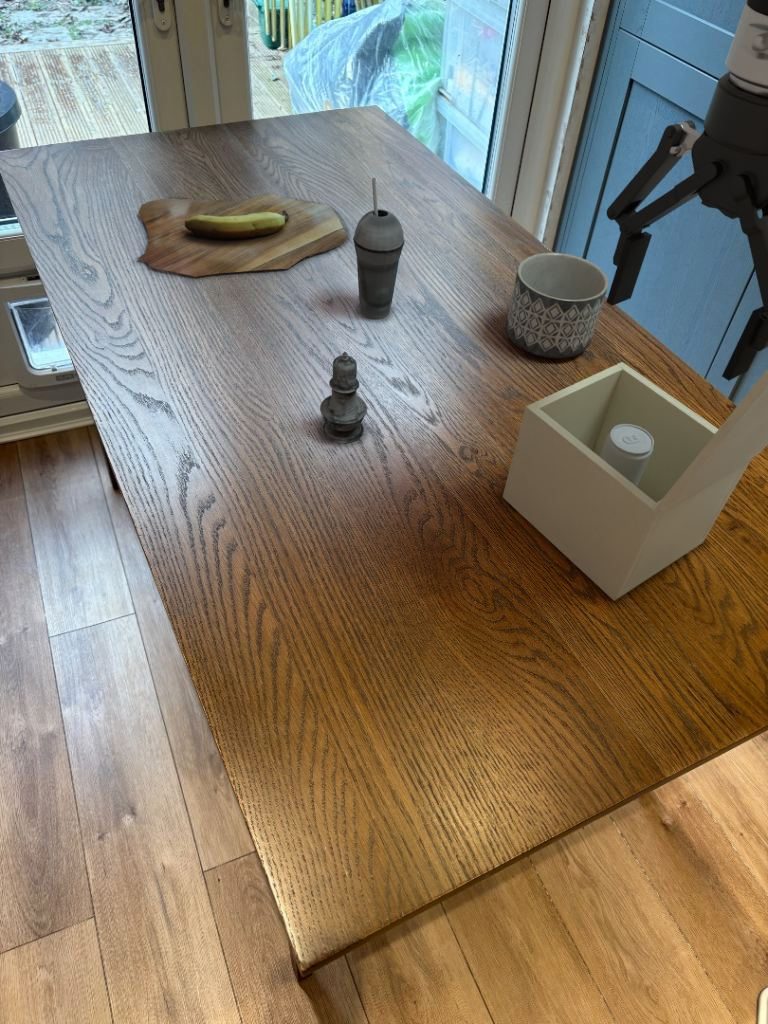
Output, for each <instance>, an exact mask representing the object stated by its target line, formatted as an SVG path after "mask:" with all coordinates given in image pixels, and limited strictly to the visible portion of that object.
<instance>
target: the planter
mask: <svg viewBox="0 0 768 1024" xmlns="http://www.w3.org/2000/svg"><path fill="white" fill-rule="evenodd" d="M516 271H517V272H516V275H515V280H514V284H513V290H512V294H511V299H510V304H509V308H508V312H507V317H506V323H505V331H506V334H507V336H508V338H509V339H510V340H511V342H512V343H513V344H514V345H516V346H517V347H519V348H520V349H522V350H523V351H525V352H527V353H529V354H532V355H535V356H539V357H542V358H548V359H567V358H572V357H576V356H578V355H580V354H581V353H583V352H585V351H586V350H587V349H588V348H589V346H590V345H591V343H592V339H593V337H594V333H595V329H596V327H597V323H598V321H599V317H600V314H601V310H602V307H603V305H604V302H605V298H606V295H607V291H608V289H609V285H610V283H609V278H608V276H607V274H606V273H605V272H604V271H603V269H601V268H600V266H598V265H597V264H595V263H593V262H591V261H590V260H587V259H585V258H583V257H579V256H577V255H573V254H569V253H563V252H541V253H536V254H532V255H530V256H528V257H525V258H524V259H523V260H522V261H521V262H520V263H519V264H518V266H517V270H516Z"/></svg>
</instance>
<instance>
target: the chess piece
mask: <svg viewBox="0 0 768 1024" xmlns="http://www.w3.org/2000/svg"><path fill="white" fill-rule="evenodd" d="M357 372H358V363H357V360H356V359H355V358H354V357H353V356H350V355H349V353H348V352H346V351H344V352H342V354H341V355H338V356H336V357H335V358H334V359H333V361H332V377H331V378H330V379H329V382H328V385H329V387H330V389H331V394H330V395H328V396H327V397H325V398H323V400H322V401H321V403H320V405H319V411H320V414H321V416H322V417H323V418H322V419H323V420H324V423H323V425H322V434H323V435H324V437H325V438H326V439H327V440H329V441H330V442H333V443H336V444H344V445H346V444H352V443H355V442H357V441H358V440H360V439H361V438H362V436H363V435H364V432H365V428H364V425H363V423H362V422H363V421H364V418H365V417H366V416H367V413H368V405H367V403H366V401H364V399H363V398H361V397H359V396H358V395H357V390H358V389H359V387H360V381H359V379H358V378H357V375H358V373H357Z"/></svg>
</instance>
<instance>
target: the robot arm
mask: <svg viewBox="0 0 768 1024" xmlns="http://www.w3.org/2000/svg"><path fill="white" fill-rule="evenodd" d="M724 65H725V68H726V70H727V71H728V72H726V73H724V75H722V76H721V77H719V79H718V80H717V83H716V86H715V89H714V92H713V94H712V97H711V101H710V104H709V106H708V109H707V111H706V115H705V118H704V120H703V129H704V130H703V131H702V133H701V132H699V131H697V130H696V129H697V127H696V123H695V121H693V120H691V119H689V120H684V121H681V122H677V123H673V124H670V125H668V126H666V127H665V128H664V129H663V133H662V136H661V137H660V140H659V142H658V145H657V147H656V150H655V151H654V153H653V154H652V155H651V156H650V157H649V158H648V160H647V161H646V162H645V163H644V164H643V165H642V167H641V168H639V170H638V172H637V173H636V174H635V175H634V176H633V177H632V179H631V180H629V183H628V184H626V186H625V187H624V188H623V190H622V191H621V192H620V193H619V194H618V196H617V197H616V198H615V199H614V200H613V201H612V203H611V204H610V205H609V206H608V208H607V209H606V217H607V219H608V220H609V221H615V223H616V224H617V225H618V228H619V232H620V233H619V237H618V239H617V243H616V246H615V251H614V252H613V253H614V254H613V257H612V265H614V266H616V269H615V273H614V276H613V279H612V282H611V285H610V289H609V291H608V295H607V298H606V301H605V302H606V304H608V305H609V306H611V307H613V306H616V305H618V304H620V303H622V302H625V301H628V300H631V299H632V296H633V294H634V290H635V287H636V284H637V281H638V279H639V276H640V272H641V269H642V266H643V263H644V261H645V258H646V255H647V252H648V249H649V245H650V243H651V240H652V237H653V234H651V233H650V232H648V231H644V230H645V229H647V228H650V227H651V225H653V224H655V223H657V222H658V221H660V220H661V219H662V218H664V217H665V216H667V215H669V214H670V213H672V212H673V211H675V210H677V209H679V208H680V207H682V206H683V205H685V204H686V203H688V202H690V201H691V200H693V199H695V198H696V197H697V196H698V197H699V199H700V201H701V202H700V204H701V205H703V206H704V207H707V208H710V209H716V210H718V211H719V212H720V213H721V214H722V215H724V216H725V217H727V218H728V219H731V220H736V219H739V223H740V224H739V225H740V229H741V231H742V233H743V234H744V235H746V237H747V241H748V244H749V250H750V254H751V258H752V263H753V267H754V271H755V276H756V279H757V285H758V289H759V294H760V299H761V302H762V306H759V307H758V308H756V309H753V310H752V312H751V314H750V316H749V318H748V320H747V323H746V324H745V326H744V329H743V331H742V333H741V335H740V336H739V339H738V341H737V343H736V345H735V348H734V349H733V352H732V354H731V356H730V358H729V360H728V362H727V363H726V366H725V369H724V370H723V373H722V375H721V377H722V378H723V379H725V380H727V381H729V382H730V381H731V380H734V379H735V378H738V377H739V376H741V375H743V374H745V373H746V372H749V369H750V367H751V366H752V363H753V362H754V359H755V357H756V356H757V353H758V352H761V351H764V350H766V349H767V348H768V0H746V1H745V3H744V7H743V9H742V12H741V16H740V18H739V21H738V24H737V28H736V30H735V33H734V35H733V39H732V41H731V44H730V47H729V50H728V54H727V56H726V58H725V62H724ZM690 152H691V153H690ZM689 153H690V155H691V162H692V167H693V173H692V174H690V175H689V176H687V177H686V178H684V179H683V180H682V181H680V182H679V183H677V184H675V185H674V187H673V188H672V189H670V190H668V191H667V192H665V193H663V194H662V195H661V196H659V197H657V198H656V199H655V200H653V201H652V202H650V203H649V204H647V205H646V206H643V208H640V210H638V211H637V209H638V208H639V207H640V205H641V204H643V202H644V201H646V199H647V198H648V196H650V195H651V193H652V192H653V191H654V190H655V189H656V188H657V186H658V185H659V184H660V183H661V182H662V181H663V180H664V178H665V177H666V176H667V175H668V174H669V173H670V171H672V169H674V167H675V166H676V165H677V164H678V163H679V161H680V160H681V159H682V158H683V156H687V155H688V154H689ZM759 211H761V214H762V215H761V217H759V213H758V212H759Z"/></svg>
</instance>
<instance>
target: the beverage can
mask: <svg viewBox="0 0 768 1024" xmlns="http://www.w3.org/2000/svg"><path fill="white" fill-rule="evenodd" d="M653 446H654V440H653V437H652V436H651V435H650V433H649V432H647V431H646V430H645V429H643V428H641V427H639V426H636V425H632V424H621V425H617V426H615V427H614V428H613V429H612V430H611V432H610V433H609V435H608V436H607V439H606V441H605V444H604V447H603V449H602V452H601V455H600V458H601V459H603V460H604V461H605V462H606V463H608V464H609V465H610V466H611V467H613V468H614V469H615V470H616V471H618V472H619V473H620V474H621V475H622V476H624V477H625V478H626V479H627V480H629V481H630V482H631V483H632V484H634V485H635V486H636V487H637V485H638V483H639V481H640V478H641V476H642V474H643V472H644V469H645V467H646V465H647V463H648V460H649V458H650V456H651V454H652V451H653Z"/></svg>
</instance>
